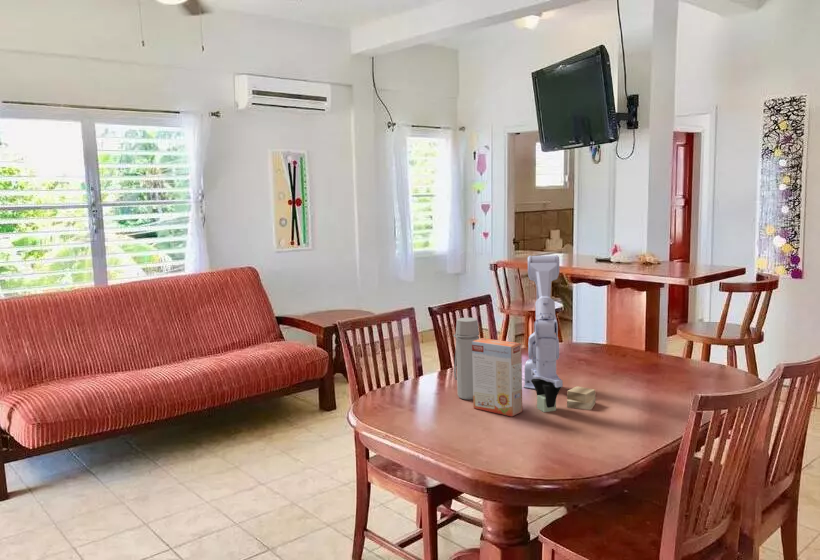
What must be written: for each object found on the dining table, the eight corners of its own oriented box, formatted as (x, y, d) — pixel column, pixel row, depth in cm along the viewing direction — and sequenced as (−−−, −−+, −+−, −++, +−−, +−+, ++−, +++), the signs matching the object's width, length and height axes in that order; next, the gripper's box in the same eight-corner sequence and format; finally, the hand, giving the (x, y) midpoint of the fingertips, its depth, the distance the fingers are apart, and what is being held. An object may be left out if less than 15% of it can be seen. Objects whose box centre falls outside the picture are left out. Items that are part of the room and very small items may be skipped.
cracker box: (523, 412, 197) (522, 342, 194) (512, 417, 193) (511, 346, 190) (484, 403, 206) (483, 336, 204) (472, 408, 202) (471, 340, 199)
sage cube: (537, 408, 200) (537, 395, 200) (548, 406, 201) (548, 393, 201) (544, 412, 196) (544, 399, 196) (556, 410, 198) (556, 397, 197)
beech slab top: (567, 398, 202) (567, 390, 201) (576, 394, 206) (577, 386, 206) (585, 402, 198) (585, 394, 197) (595, 397, 202) (595, 389, 202)
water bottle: (485, 396, 214) (484, 318, 210) (470, 402, 208) (468, 322, 205) (462, 390, 220) (461, 315, 217) (447, 396, 214) (445, 319, 211)
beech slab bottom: (567, 409, 200) (567, 400, 200) (572, 402, 206) (572, 394, 206) (590, 411, 197) (590, 403, 197) (595, 404, 203) (595, 396, 203)
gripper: (522, 355, 202) (522, 399, 204) (547, 367, 189) (547, 413, 191) (542, 353, 205) (542, 396, 207) (568, 364, 191) (568, 410, 193)
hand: (546, 404), depth 199 cm, fingers closed on sage cube, 4 cm apart
